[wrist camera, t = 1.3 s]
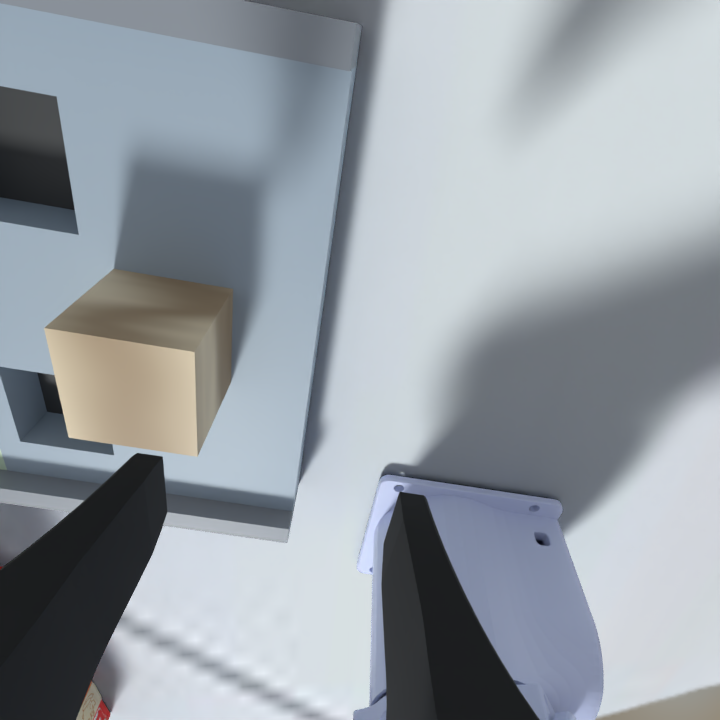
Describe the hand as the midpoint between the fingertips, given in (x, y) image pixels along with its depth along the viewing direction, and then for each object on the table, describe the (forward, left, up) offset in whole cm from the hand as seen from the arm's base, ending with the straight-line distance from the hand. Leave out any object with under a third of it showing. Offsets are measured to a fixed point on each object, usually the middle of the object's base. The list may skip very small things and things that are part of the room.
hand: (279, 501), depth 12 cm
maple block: (+5, 0, -7) cm, 9 cm away
